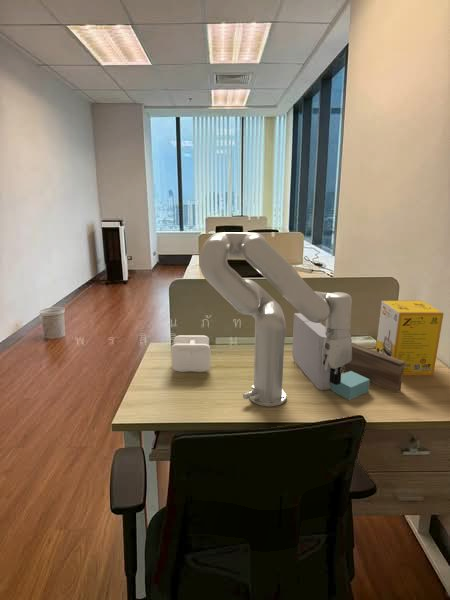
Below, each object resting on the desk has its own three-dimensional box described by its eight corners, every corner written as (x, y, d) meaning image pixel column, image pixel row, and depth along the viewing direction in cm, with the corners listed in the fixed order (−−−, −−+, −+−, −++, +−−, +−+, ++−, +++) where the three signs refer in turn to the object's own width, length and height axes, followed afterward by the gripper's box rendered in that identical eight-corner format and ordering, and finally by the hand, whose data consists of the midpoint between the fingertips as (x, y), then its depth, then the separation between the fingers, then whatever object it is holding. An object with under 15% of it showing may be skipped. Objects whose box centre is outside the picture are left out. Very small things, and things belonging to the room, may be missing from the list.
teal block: (349, 400, 130) (350, 387, 129) (331, 390, 137) (332, 377, 135) (368, 392, 136) (369, 379, 134) (349, 383, 142) (350, 370, 141)
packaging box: (374, 357, 163) (381, 300, 156) (413, 357, 163) (422, 300, 156) (390, 375, 148) (398, 312, 141) (433, 375, 148) (443, 313, 141)
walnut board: (396, 393, 135) (400, 364, 132) (343, 370, 151) (345, 344, 148) (401, 390, 137) (405, 361, 133) (348, 368, 153) (350, 342, 150)
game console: (318, 390, 136) (322, 338, 131) (291, 358, 162) (293, 313, 156) (333, 389, 137) (338, 336, 132) (304, 357, 163) (307, 312, 157)
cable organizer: (211, 361, 159) (211, 335, 156) (210, 373, 149) (210, 345, 146) (175, 361, 159) (174, 335, 156) (171, 373, 149) (170, 345, 146)
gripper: (332, 340, 116) (329, 394, 122) (361, 328, 125) (358, 380, 130) (312, 333, 122) (311, 386, 127) (342, 323, 131) (339, 372, 136)
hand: (335, 382), depth 129 cm, fingers closed
